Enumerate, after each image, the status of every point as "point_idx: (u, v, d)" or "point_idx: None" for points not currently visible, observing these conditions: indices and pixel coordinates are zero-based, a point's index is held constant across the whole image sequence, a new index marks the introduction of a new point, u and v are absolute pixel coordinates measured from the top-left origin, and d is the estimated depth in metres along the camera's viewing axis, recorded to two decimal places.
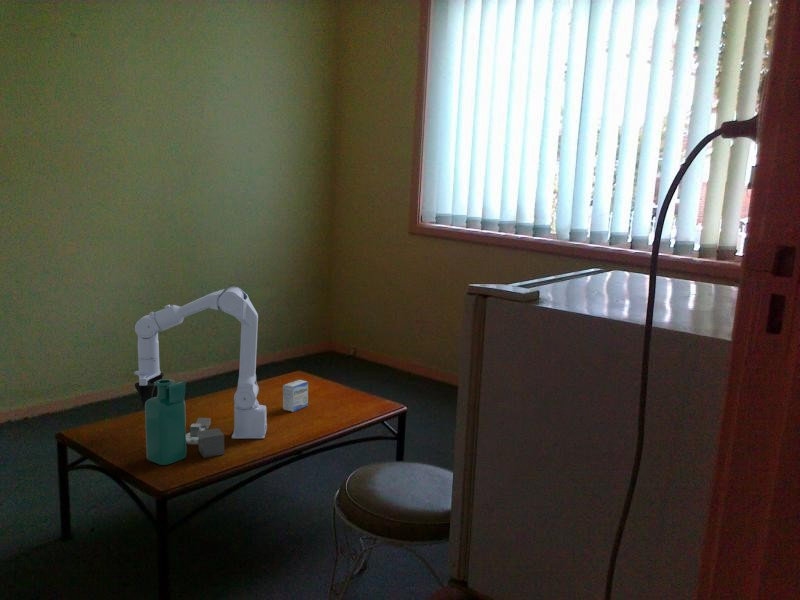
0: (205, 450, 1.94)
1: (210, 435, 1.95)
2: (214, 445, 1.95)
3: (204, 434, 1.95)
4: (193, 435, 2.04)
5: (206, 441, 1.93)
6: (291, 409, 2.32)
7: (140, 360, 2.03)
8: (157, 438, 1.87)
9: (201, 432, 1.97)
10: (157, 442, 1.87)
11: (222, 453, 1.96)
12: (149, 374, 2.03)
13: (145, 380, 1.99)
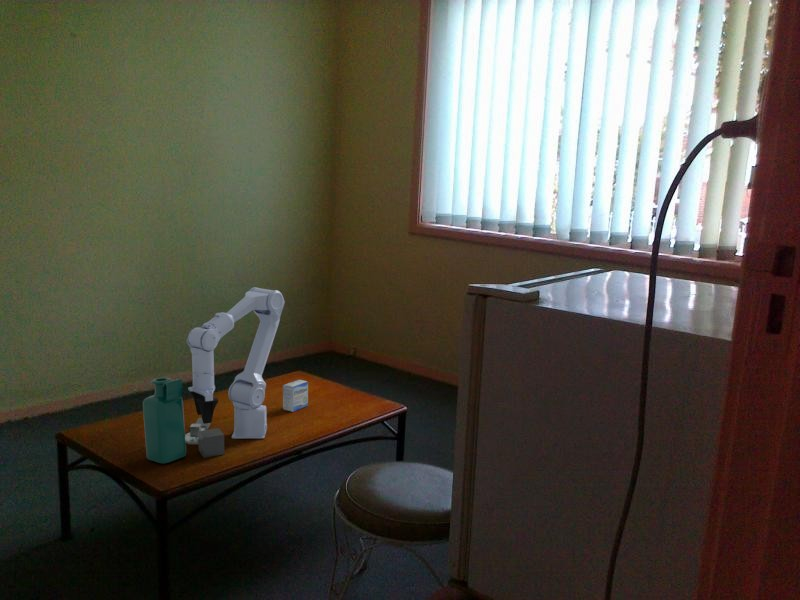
0: (205, 450, 1.94)
1: (210, 435, 1.95)
2: (214, 445, 1.95)
3: (204, 434, 1.95)
4: (193, 435, 2.04)
5: (206, 441, 1.93)
6: (291, 409, 2.32)
7: (198, 375, 1.92)
8: (156, 436, 1.87)
9: (201, 432, 1.97)
10: (155, 440, 1.88)
11: (222, 453, 1.96)
12: (208, 389, 1.93)
13: (212, 395, 1.90)
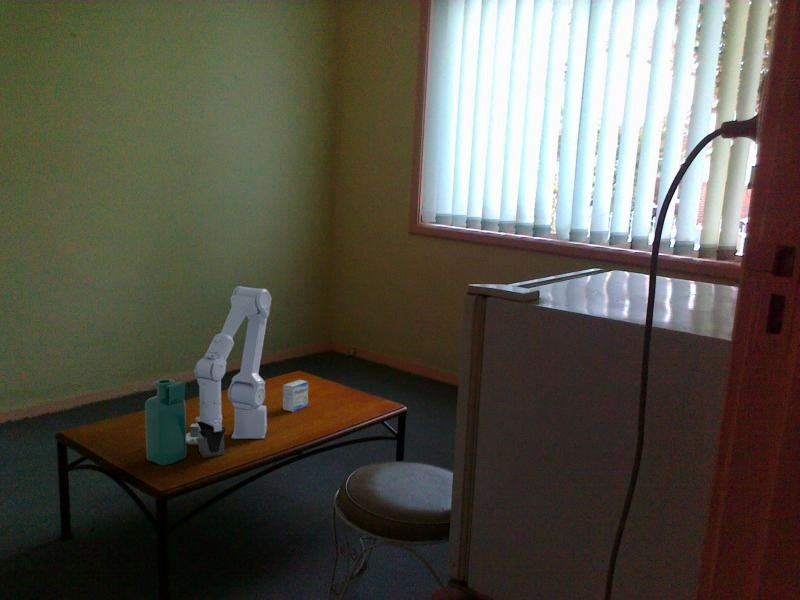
0: (205, 450, 1.94)
1: None
2: None
3: (204, 434, 1.95)
4: (193, 435, 2.04)
5: (206, 441, 1.93)
6: (291, 409, 2.32)
7: (206, 405, 1.92)
8: (157, 438, 1.87)
9: (201, 432, 1.97)
10: (156, 442, 1.87)
11: (222, 453, 1.96)
12: (216, 419, 1.94)
13: (220, 425, 1.90)
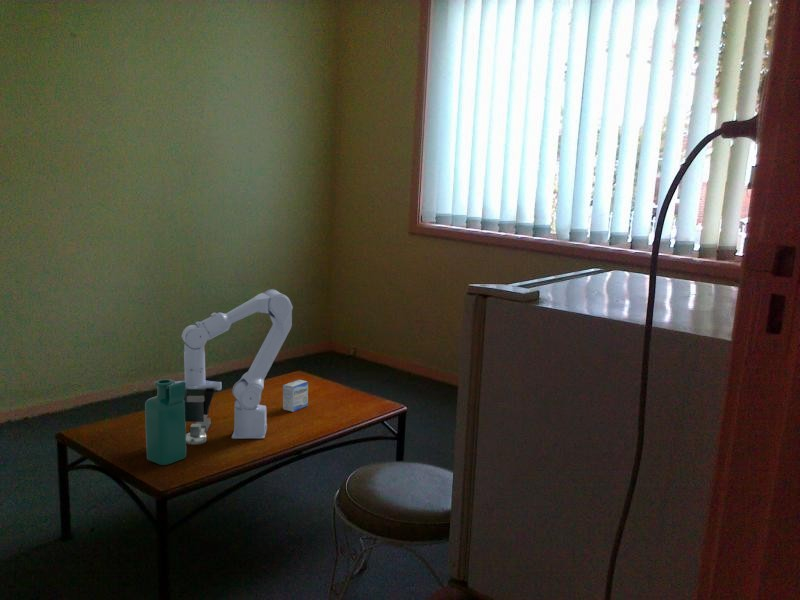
0: (203, 414, 2.02)
1: (201, 399, 2.03)
2: None
3: (195, 401, 2.01)
4: (193, 435, 2.04)
5: (203, 405, 2.01)
6: (291, 409, 2.32)
7: (201, 371, 2.00)
8: (157, 438, 1.87)
9: (188, 401, 2.01)
10: (156, 442, 1.87)
11: None
12: (205, 382, 2.03)
13: (221, 383, 2.04)
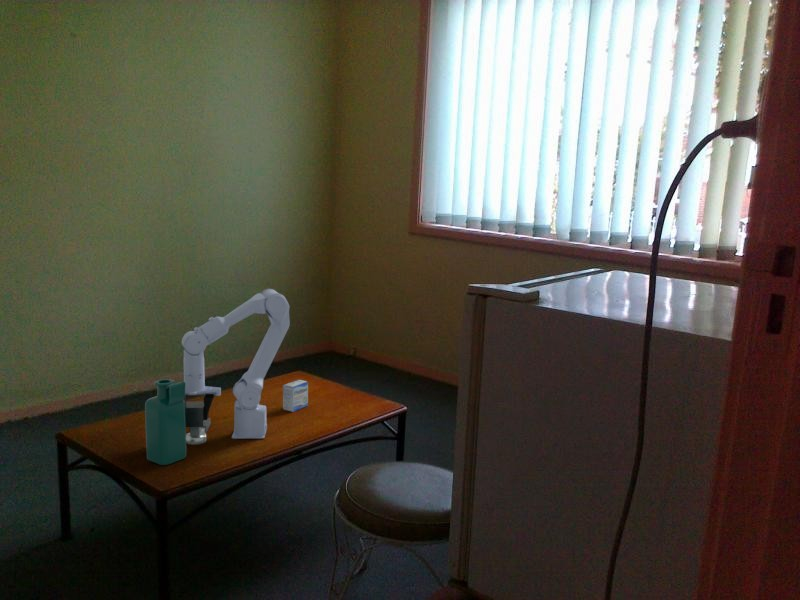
0: (203, 419, 2.02)
1: (201, 405, 2.03)
2: None
3: (194, 406, 2.02)
4: (193, 435, 2.04)
5: (203, 410, 2.02)
6: (291, 409, 2.32)
7: (200, 376, 2.01)
8: (157, 438, 1.87)
9: (188, 407, 2.02)
10: (156, 442, 1.87)
11: None
12: (205, 387, 2.04)
13: (220, 389, 2.05)
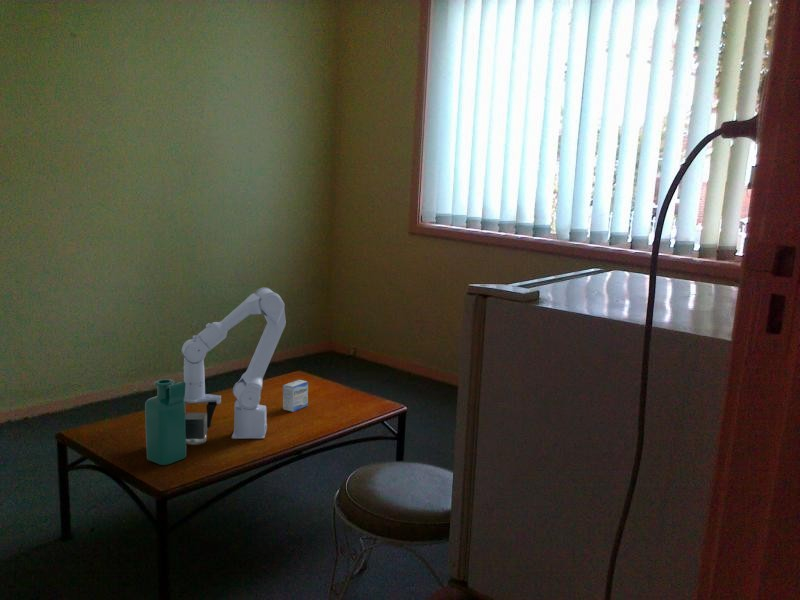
0: (203, 431, 2.03)
1: (201, 416, 2.04)
2: (205, 424, 2.05)
3: (194, 418, 2.03)
4: None
5: (203, 422, 2.03)
6: (291, 409, 2.32)
7: (201, 384, 2.01)
8: (157, 438, 1.87)
9: (188, 418, 2.02)
10: (156, 442, 1.87)
11: (206, 431, 2.08)
12: (205, 395, 2.04)
13: (220, 397, 2.05)
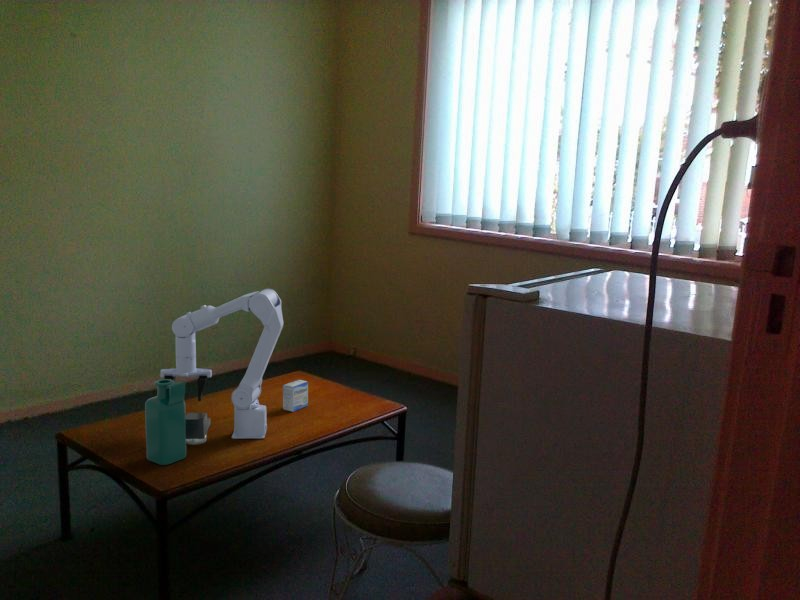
0: (204, 431, 2.03)
1: (201, 416, 2.04)
2: (205, 424, 2.05)
3: (195, 418, 2.03)
4: None
5: (204, 422, 2.03)
6: (291, 409, 2.32)
7: (192, 358, 2.08)
8: (157, 438, 1.87)
9: (188, 418, 2.02)
10: (156, 442, 1.87)
11: None
12: (196, 369, 2.12)
13: (211, 371, 2.12)
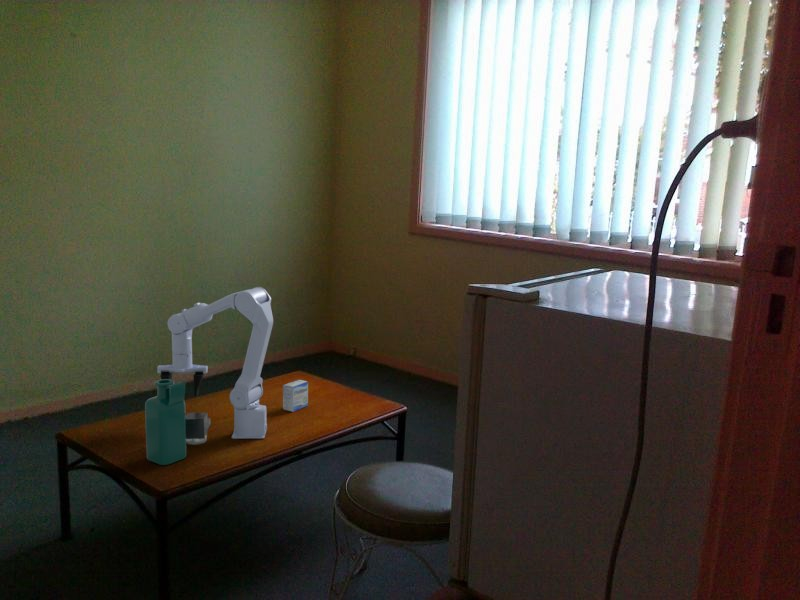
0: (204, 431, 2.03)
1: (201, 416, 2.04)
2: (205, 424, 2.05)
3: (195, 418, 2.03)
4: None
5: (204, 422, 2.03)
6: (291, 409, 2.32)
7: (188, 355, 2.13)
8: (157, 438, 1.87)
9: (189, 418, 2.02)
10: (156, 442, 1.87)
11: (207, 430, 2.08)
12: (192, 365, 2.16)
13: (207, 367, 2.16)
